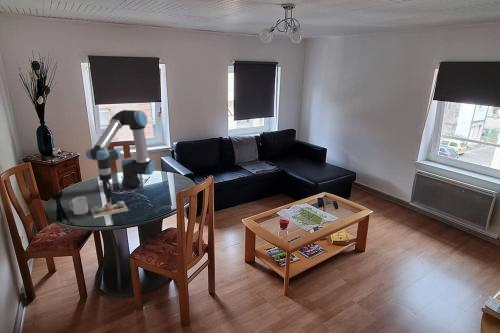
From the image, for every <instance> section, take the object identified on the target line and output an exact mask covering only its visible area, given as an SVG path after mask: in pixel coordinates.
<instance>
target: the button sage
mask: <svg viewBox="0 0 500 333" xmlns="http://www.w3.org/2000/svg"><path fill="white" fill-rule="evenodd" d="M101 207H102V205H100V204H99V205H95V206H93V207H92V209H93V210H94V212H95V213H96V214H97V213H101V212H100V211H101Z"/></svg>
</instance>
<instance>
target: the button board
mask: <svg viewBox="0 0 500 333" xmlns="http://www.w3.org/2000/svg"><path fill="white" fill-rule="evenodd" d="M112 205H113V210H112V211H106V206H107V205H106V206H101V211H100V212H99V213H96V212H94V210H93V208H92V209H90V212H91V214H92V216H93V219H96V218H100V217H101V218H102V217H105V216H109V215H113V214H118V213H123V212H127V211H130V209H129V208H128V206H127V205H126V204H125V205H124V206H123V207H122V208H119V207H118V206H117V203H114V204H112Z"/></svg>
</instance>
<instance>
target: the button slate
mask: <svg viewBox="0 0 500 333" xmlns="http://www.w3.org/2000/svg"><path fill="white" fill-rule="evenodd" d="M116 204H117V206H118V207H119V209H120V208H124V207H123V206H124V205H126V204H125V201H124V200H118V201H117V202H116Z"/></svg>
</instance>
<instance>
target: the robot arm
mask: <svg viewBox="0 0 500 333" xmlns="http://www.w3.org/2000/svg"><path fill="white" fill-rule="evenodd" d="M108 122H109V123H108V125H107V127H106V129H105V130H104V131H103V133H102V134H101V135H100V137H99V138H98V140H97V142H96V143H95V145H94V146H93V148H88V149H86V151H85V152H86V153H85V156H86V158H87V159H88V160H93V161H96V163H97V167H98V169H97V172H98V178H99V181H101V182H102V185H103V190H104V196H105V197H104V199H105V202H106V206H107V207H109V206H111V205H112V200H111V198H112V193H111V190H112V189H111V181H110V180H112V179H113V178H112V177H113V176H112V175H113V174H112V169H111V168H112V166H111V163H114V162H115V161H118V160H119V159H121V157H122V152H121V150H120V149H118V148H114V149H108V147H109V146H110V144H111V142H112V141H113V140H114V137H115V136H116V134H117V133H118V132H119V130H121V129H122V127H124V126H129V130H131V132H132V136H133V143H134V146H135V151H136V157H135V156H134V157H133V156H132V157H126V158H123V159H122V161H121V168H122V181H121V186H122V188H126V189H127V188H129V189H131V188H136V187H139V186H140V185H141V184H142V182H141V180H140V177H139V175H145V176H148V175H149V176H150V175H153V173H154V171H155V166H156V164H155V161H153V160H152V159H151V156H149V151H148V146H147V141H146V136H145V128H146V126H147V124H148V116H147V114H146V112H144V111H142V110H137V109H136V110H133V109H132V110H131V109H130V110H129V109H123V110H120V111H118V112H117V113H115V114H114V115H113V116H112V117H111V119H110V120H109V121H108Z"/></svg>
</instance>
